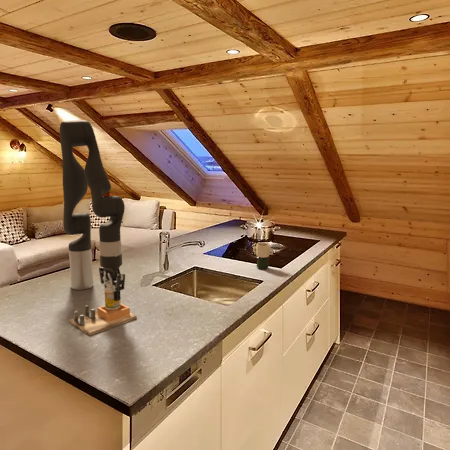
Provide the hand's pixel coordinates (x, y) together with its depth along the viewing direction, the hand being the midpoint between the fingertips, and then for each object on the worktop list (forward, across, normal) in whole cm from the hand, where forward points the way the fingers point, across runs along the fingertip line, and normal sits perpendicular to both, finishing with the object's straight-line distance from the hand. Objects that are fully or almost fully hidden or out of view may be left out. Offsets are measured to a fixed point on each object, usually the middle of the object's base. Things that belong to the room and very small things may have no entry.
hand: (112, 298), depth 132 cm
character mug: (+7, +2, +87) cm, 87 cm away
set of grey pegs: (+6, -3, -9) cm, 12 cm away
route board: (+7, 0, -4) cm, 8 cm away
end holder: (+7, 0, 0) cm, 7 cm away
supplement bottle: (+4, 0, 0) cm, 4 cm away
